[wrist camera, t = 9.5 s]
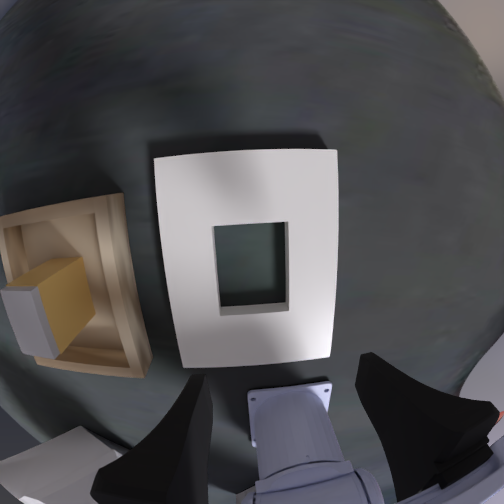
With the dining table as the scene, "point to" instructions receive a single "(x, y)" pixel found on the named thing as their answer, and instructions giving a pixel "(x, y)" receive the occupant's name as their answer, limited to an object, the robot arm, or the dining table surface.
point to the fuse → (49, 306)
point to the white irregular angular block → (59, 468)
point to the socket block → (246, 212)
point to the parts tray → (98, 276)
